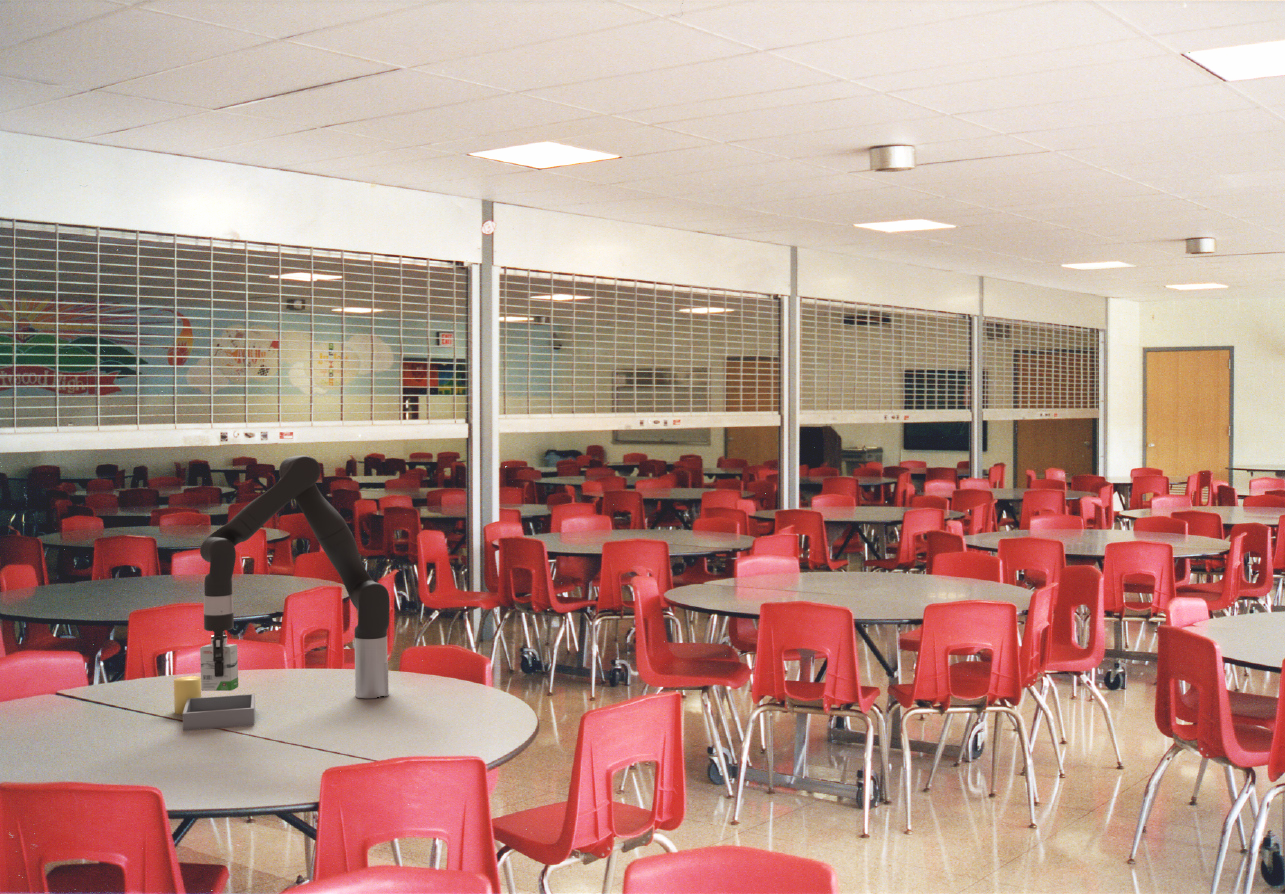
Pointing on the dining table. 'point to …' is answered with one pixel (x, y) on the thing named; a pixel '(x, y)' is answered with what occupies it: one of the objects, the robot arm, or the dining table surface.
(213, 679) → the ink box
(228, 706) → the bus tub
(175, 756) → the dining table surface
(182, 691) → the yellow rounded cylinder
